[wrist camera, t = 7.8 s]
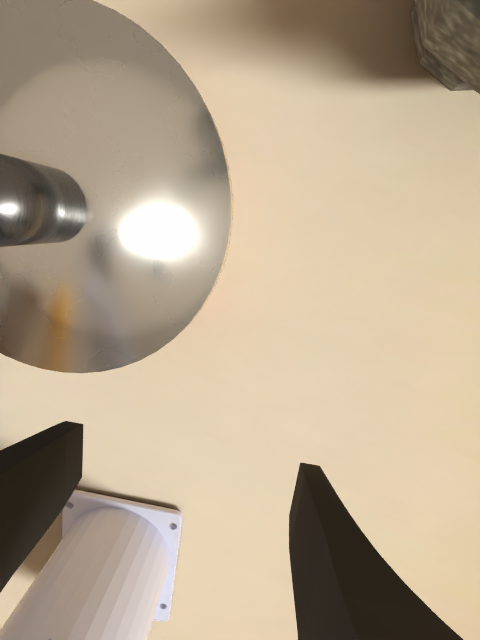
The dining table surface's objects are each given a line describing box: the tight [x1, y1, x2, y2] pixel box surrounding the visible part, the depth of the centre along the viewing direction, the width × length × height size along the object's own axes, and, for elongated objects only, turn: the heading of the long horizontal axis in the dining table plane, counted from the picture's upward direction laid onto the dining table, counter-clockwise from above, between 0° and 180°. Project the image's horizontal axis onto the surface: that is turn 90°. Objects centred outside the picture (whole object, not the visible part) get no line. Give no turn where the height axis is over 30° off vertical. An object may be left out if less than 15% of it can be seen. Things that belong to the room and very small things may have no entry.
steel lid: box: [0, 0, 233, 373], centre depth 12 cm, size 14×14×5 cm
